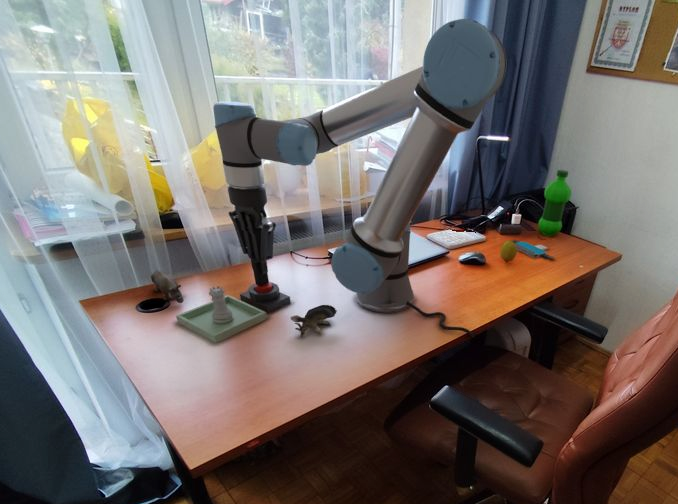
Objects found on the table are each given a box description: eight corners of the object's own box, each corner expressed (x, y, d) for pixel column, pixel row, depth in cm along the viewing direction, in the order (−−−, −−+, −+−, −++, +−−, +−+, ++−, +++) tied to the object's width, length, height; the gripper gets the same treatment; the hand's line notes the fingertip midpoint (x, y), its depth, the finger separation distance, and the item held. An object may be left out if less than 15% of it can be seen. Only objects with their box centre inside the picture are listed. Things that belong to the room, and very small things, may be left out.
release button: (276, 291, 105) (275, 284, 104) (263, 296, 102) (261, 289, 101) (265, 286, 106) (264, 279, 105) (252, 291, 104) (250, 284, 102)
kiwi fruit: (516, 262, 145) (521, 240, 141) (510, 267, 141) (514, 244, 137) (502, 258, 147) (506, 236, 143) (495, 262, 143) (499, 240, 139)
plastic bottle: (564, 238, 173) (581, 174, 159) (542, 238, 170) (557, 173, 156) (553, 229, 181) (568, 168, 167) (531, 229, 178) (545, 167, 164)
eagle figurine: (319, 341, 92) (344, 318, 98) (299, 315, 89) (326, 293, 95) (301, 345, 97) (325, 323, 103) (281, 321, 94) (307, 300, 100)
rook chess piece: (237, 316, 99) (231, 285, 94) (227, 325, 95) (220, 294, 91) (219, 313, 99) (212, 283, 94) (208, 323, 95) (200, 291, 91)
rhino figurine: (174, 311, 98) (167, 288, 95) (152, 290, 105) (144, 268, 102) (193, 306, 101) (186, 284, 97) (169, 286, 108) (163, 264, 104)
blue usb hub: (563, 257, 154) (565, 253, 153) (542, 262, 148) (543, 258, 147) (525, 239, 167) (526, 235, 166) (504, 243, 160) (504, 239, 159)
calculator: (425, 238, 156) (425, 233, 155) (462, 230, 168) (463, 225, 167) (449, 250, 148) (450, 245, 147) (486, 240, 161) (487, 236, 159)
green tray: (267, 319, 100) (266, 312, 99) (216, 343, 90) (214, 336, 89) (230, 301, 104) (228, 294, 103) (177, 322, 95) (175, 315, 94)
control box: (290, 303, 107) (289, 289, 104) (268, 313, 102) (266, 299, 99) (263, 291, 110) (261, 277, 108) (240, 301, 105) (238, 286, 103)
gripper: (281, 188, 90) (293, 286, 103) (241, 176, 95) (257, 271, 108) (252, 194, 85) (268, 297, 98) (210, 181, 89) (231, 280, 103)
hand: (262, 283), depth 103 cm, fingers closed
